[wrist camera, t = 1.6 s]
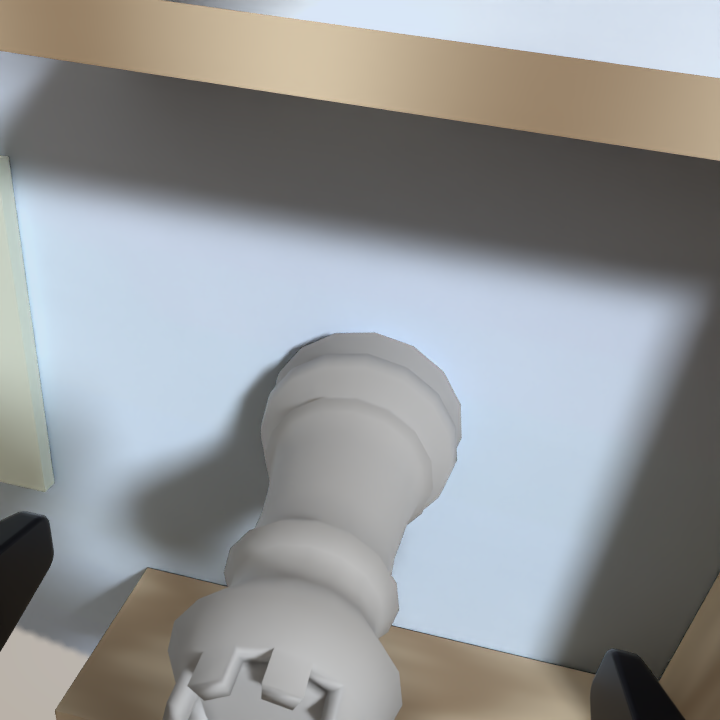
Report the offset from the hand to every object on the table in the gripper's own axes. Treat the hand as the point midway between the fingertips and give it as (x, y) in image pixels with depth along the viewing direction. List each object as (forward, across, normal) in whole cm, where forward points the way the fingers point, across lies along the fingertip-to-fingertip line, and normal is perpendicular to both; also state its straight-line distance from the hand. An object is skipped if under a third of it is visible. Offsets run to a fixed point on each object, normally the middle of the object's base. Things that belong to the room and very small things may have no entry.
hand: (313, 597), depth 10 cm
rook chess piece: (+6, 0, 0) cm, 6 cm away
